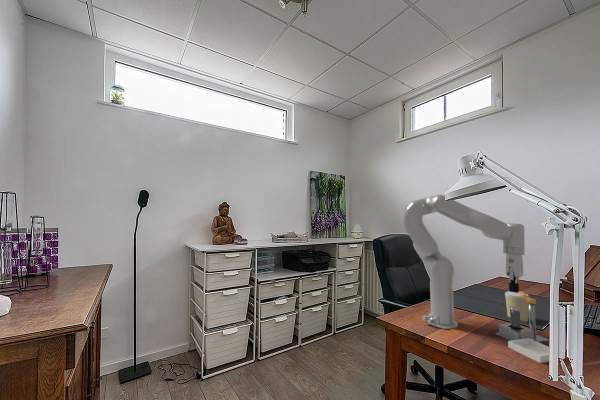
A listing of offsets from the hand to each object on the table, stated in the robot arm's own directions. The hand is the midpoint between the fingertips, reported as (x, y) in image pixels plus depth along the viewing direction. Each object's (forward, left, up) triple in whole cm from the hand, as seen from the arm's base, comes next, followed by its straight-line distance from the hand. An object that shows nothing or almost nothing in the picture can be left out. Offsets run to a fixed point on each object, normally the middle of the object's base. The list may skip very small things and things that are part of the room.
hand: (513, 291), depth 119 cm
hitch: (-6, -7, -16) cm, 19 cm away
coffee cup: (+13, +9, -17) cm, 23 cm away
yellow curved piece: (+3, -3, -3) cm, 5 cm away
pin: (-9, -7, -16) cm, 19 cm away
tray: (-15, -18, -17) cm, 29 cm away
